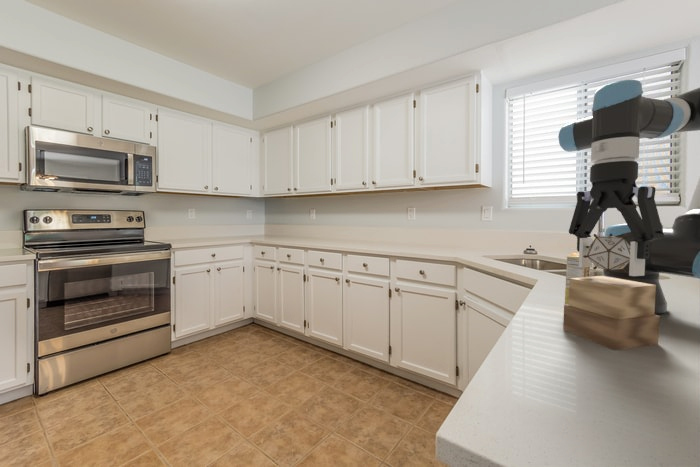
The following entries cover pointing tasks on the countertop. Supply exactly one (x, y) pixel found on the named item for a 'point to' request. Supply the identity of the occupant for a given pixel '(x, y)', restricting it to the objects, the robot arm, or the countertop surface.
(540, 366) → the countertop surface
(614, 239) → the game die
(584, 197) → the robot arm
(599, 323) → the bottom block
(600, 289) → the top block
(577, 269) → the candy box
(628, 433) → the countertop surface
